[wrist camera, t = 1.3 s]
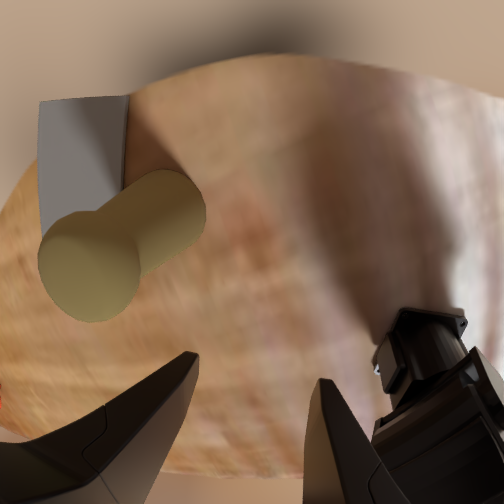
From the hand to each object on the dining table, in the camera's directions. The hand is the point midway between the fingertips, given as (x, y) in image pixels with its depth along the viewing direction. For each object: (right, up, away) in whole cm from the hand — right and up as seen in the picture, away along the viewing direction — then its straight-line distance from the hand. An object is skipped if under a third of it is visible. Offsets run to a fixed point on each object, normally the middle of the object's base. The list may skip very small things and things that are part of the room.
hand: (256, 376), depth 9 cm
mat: (-14, +8, +13) cm, 21 cm away
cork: (-6, +7, +13) cm, 16 cm away
